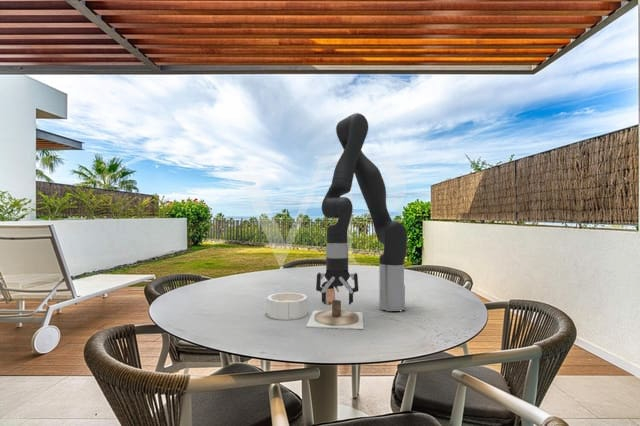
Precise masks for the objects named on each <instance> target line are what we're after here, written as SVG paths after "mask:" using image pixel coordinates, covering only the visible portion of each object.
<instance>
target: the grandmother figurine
mask: <svg viewBox="0 0 640 426" xmlns="http://www.w3.org/2000/svg"><path fill="white" fill-rule="evenodd" d="M327 282H328V281H327V280H326V281H323V282H322V284H321V285H320V287H322V288H323V287H324V286H325V284H326V283H327ZM335 290H336V292H337V293H339V292H340V289H339V286H332V285H330V286H329V287H328V289H327V290H326V304H325V305H331V304H332V301H333V300H336V293H335Z"/></svg>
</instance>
